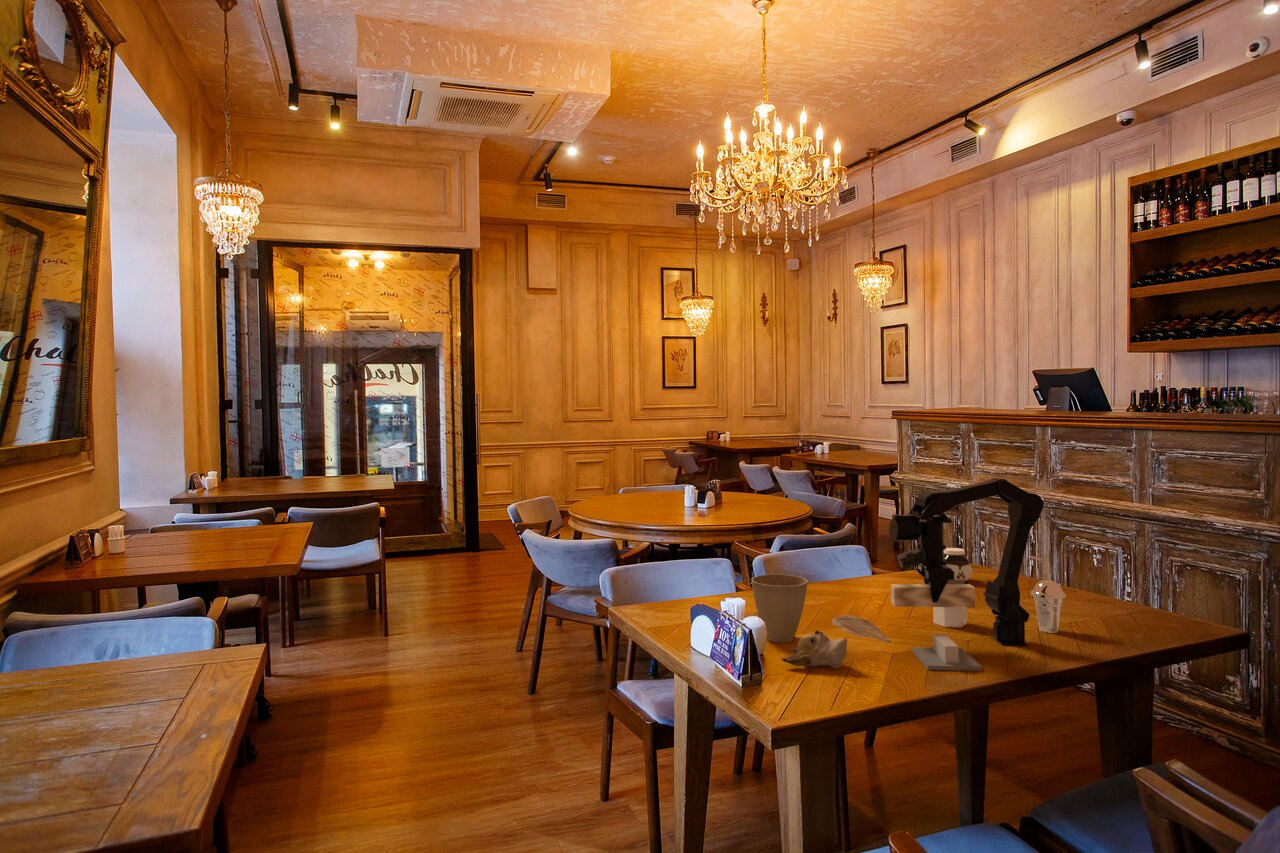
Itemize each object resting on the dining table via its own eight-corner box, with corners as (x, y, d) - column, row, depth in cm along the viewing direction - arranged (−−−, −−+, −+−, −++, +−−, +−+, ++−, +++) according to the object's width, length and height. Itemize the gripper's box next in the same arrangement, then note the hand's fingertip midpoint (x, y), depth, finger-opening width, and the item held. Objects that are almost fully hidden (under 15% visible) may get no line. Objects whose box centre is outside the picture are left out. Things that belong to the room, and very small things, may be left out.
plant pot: (778, 650, 193) (777, 588, 193) (741, 636, 206) (740, 578, 205) (820, 640, 201) (819, 580, 201) (782, 627, 213) (781, 571, 213)
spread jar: (942, 584, 264) (941, 551, 264) (935, 577, 275) (934, 545, 275) (978, 585, 262) (978, 551, 262) (969, 578, 273) (969, 546, 273)
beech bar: (969, 603, 196) (969, 584, 196) (975, 607, 192) (974, 587, 192) (891, 602, 198) (890, 583, 198) (894, 606, 194) (894, 587, 194)
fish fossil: (905, 642, 199) (905, 638, 199) (871, 649, 196) (871, 645, 196) (852, 616, 224) (851, 612, 224) (821, 622, 221) (821, 618, 221)
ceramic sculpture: (843, 637, 173) (779, 635, 179) (846, 675, 173) (781, 672, 179) (849, 626, 183) (787, 624, 189) (852, 661, 183) (790, 659, 189)
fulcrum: (961, 651, 189) (961, 632, 189) (981, 670, 175) (981, 649, 175) (912, 651, 190) (912, 631, 190) (928, 670, 176) (927, 648, 176)
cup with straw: (1045, 636, 201) (1044, 561, 201) (1022, 626, 210) (1021, 555, 210) (1073, 634, 202) (1072, 559, 202) (1050, 625, 211) (1049, 553, 211)
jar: (973, 626, 212) (972, 583, 211) (950, 629, 209) (949, 586, 209) (950, 618, 220) (949, 577, 220) (927, 621, 217) (926, 579, 217)
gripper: (891, 534, 205) (892, 591, 205) (907, 546, 187) (908, 609, 187) (934, 534, 204) (935, 592, 204) (954, 546, 185) (955, 609, 186)
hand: (932, 600), depth 195 cm, fingers closed on beech bar, 4 cm apart
